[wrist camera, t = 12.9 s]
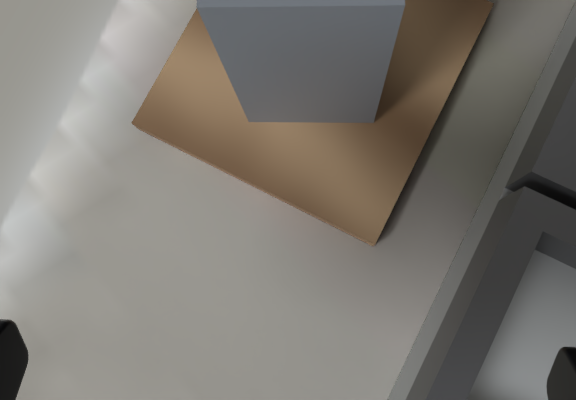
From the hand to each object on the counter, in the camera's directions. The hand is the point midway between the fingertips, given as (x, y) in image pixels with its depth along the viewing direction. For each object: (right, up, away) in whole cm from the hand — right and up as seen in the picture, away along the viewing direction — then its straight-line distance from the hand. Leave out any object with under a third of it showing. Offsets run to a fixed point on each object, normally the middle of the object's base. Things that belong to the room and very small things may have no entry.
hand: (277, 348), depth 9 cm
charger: (+1, +8, +13) cm, 16 cm away
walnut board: (+1, +8, +14) cm, 16 cm away
